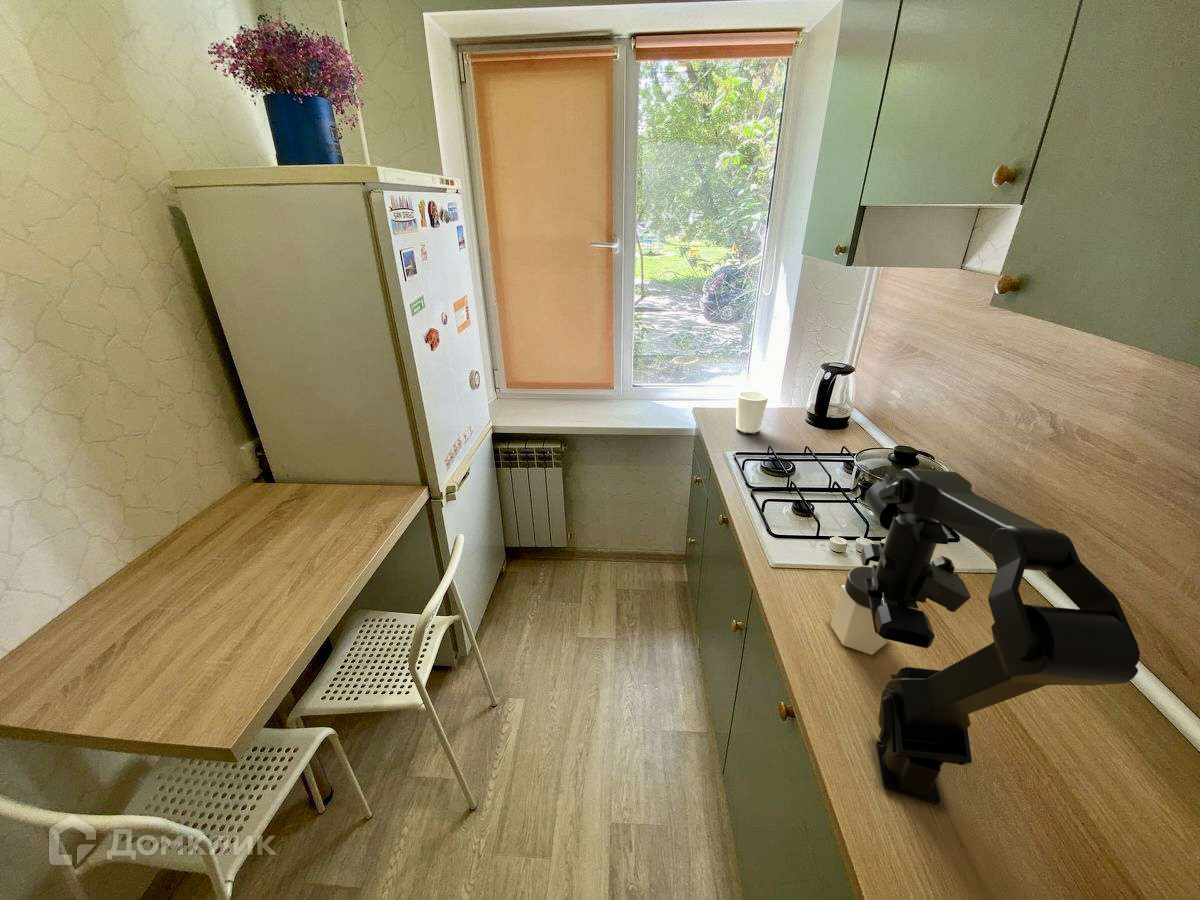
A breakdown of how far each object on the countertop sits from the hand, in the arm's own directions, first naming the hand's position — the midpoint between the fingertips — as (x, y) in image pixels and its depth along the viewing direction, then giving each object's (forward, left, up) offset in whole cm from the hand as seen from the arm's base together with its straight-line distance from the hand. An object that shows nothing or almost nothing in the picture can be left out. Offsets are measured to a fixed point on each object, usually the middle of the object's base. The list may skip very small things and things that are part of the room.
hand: (878, 632), depth 75 cm
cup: (+94, +24, -9) cm, 98 cm away
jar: (+8, 0, -9) cm, 13 cm away
